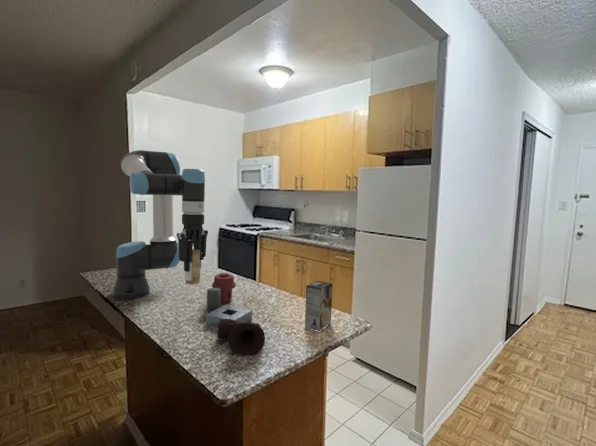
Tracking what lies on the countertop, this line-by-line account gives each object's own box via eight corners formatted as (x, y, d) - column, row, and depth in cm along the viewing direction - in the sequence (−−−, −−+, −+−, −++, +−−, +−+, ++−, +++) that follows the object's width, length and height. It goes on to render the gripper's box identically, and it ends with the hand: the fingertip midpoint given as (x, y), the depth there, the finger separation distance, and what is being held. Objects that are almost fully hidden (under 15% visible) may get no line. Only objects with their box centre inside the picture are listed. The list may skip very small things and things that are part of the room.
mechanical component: (238, 299, 151) (229, 306, 141) (217, 296, 153) (207, 303, 143) (239, 272, 149) (230, 277, 140) (218, 270, 151) (208, 275, 142)
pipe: (221, 311, 114) (215, 321, 99) (265, 314, 116) (266, 324, 101) (218, 341, 113) (212, 355, 99) (262, 343, 115) (263, 357, 100)
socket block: (205, 325, 121) (206, 314, 120) (225, 314, 132) (226, 304, 131) (233, 332, 116) (233, 320, 116) (252, 320, 127) (252, 310, 127)
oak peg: (185, 283, 119) (185, 250, 118) (192, 281, 122) (192, 248, 121) (193, 284, 118) (193, 251, 117) (199, 282, 121) (200, 249, 120)
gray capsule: (204, 312, 133) (204, 290, 132) (212, 308, 138) (212, 287, 137) (214, 315, 131) (215, 292, 130) (222, 310, 135) (223, 289, 135)
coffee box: (316, 320, 129) (318, 279, 128) (331, 324, 126) (333, 282, 124) (304, 328, 121) (305, 285, 120) (319, 333, 118) (321, 288, 116)
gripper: (184, 215, 109) (184, 285, 111) (216, 213, 124) (215, 275, 126) (167, 213, 112) (167, 282, 114) (200, 211, 127) (200, 272, 129)
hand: (192, 278), depth 120 cm, fingers closed on oak peg, 3 cm apart
